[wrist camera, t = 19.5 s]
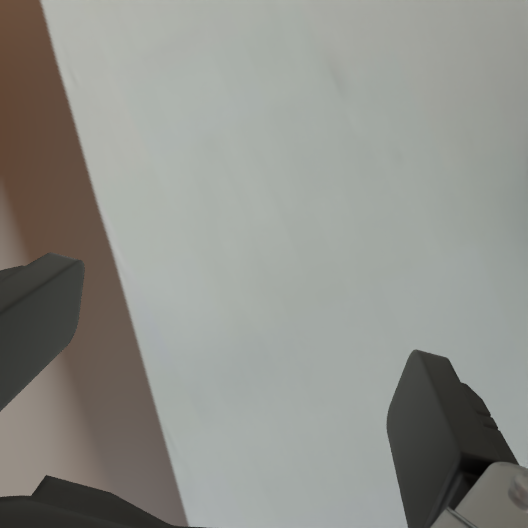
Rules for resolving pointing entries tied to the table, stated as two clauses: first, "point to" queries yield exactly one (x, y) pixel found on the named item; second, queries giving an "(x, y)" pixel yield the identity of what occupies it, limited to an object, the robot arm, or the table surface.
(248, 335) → the table surface
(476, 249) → the table surface
